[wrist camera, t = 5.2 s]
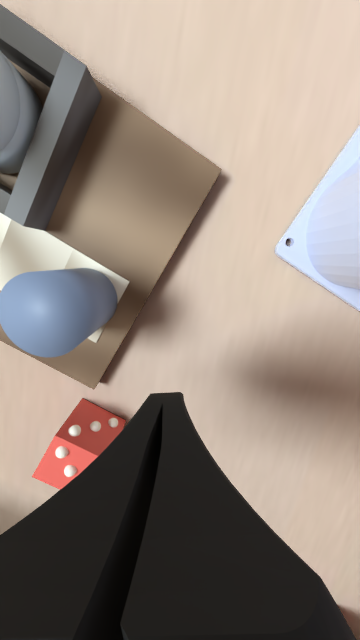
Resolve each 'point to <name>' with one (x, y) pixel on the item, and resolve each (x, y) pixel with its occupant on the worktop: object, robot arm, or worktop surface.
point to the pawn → (55, 309)
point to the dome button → (16, 116)
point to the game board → (93, 192)
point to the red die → (78, 443)
